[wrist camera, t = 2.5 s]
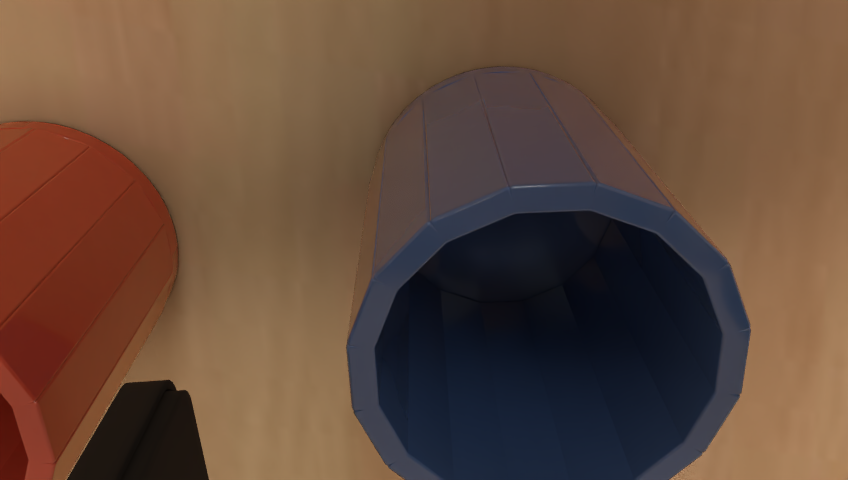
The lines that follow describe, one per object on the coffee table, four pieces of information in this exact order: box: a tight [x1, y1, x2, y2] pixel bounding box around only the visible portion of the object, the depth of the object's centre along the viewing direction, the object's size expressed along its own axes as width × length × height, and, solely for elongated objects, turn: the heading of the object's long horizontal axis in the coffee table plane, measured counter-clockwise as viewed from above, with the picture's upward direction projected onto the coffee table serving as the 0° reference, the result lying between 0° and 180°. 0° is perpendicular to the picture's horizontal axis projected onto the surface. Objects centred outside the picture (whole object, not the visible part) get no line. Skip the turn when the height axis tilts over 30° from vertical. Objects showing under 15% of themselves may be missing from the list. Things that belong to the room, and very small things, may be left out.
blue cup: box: [346, 67, 751, 480], centre depth 14 cm, size 6×6×7 cm
